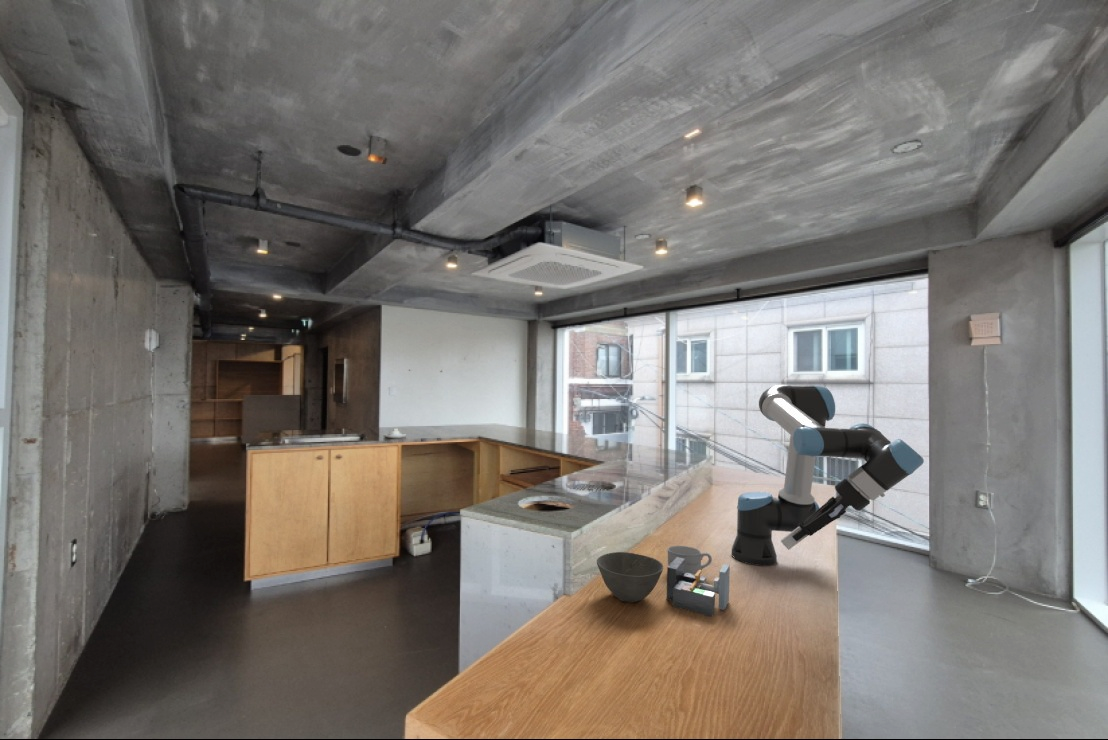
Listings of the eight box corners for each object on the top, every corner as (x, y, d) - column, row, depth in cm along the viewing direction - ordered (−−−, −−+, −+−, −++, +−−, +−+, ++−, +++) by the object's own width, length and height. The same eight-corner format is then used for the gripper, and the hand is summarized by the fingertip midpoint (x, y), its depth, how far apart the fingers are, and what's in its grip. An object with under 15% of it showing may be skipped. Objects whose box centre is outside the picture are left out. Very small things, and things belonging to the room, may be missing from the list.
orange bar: (698, 577, 137) (698, 569, 137) (701, 578, 137) (701, 570, 137) (689, 590, 127) (689, 582, 128) (692, 591, 127) (692, 582, 127)
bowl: (674, 599, 134) (675, 563, 135) (638, 621, 120) (639, 581, 121) (620, 579, 147) (621, 546, 147) (582, 596, 133) (583, 561, 134)
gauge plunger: (700, 593, 137) (701, 558, 138) (728, 600, 133) (729, 564, 134) (694, 602, 131) (695, 566, 132) (724, 609, 127) (725, 572, 128)
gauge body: (676, 587, 142) (676, 557, 143) (721, 598, 136) (722, 566, 136) (662, 603, 131) (663, 571, 131) (711, 616, 124) (712, 582, 124)
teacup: (664, 576, 150) (665, 551, 150) (669, 565, 160) (670, 541, 160) (710, 585, 145) (710, 559, 145) (712, 573, 155) (712, 548, 155)
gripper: (874, 507, 109) (794, 564, 117) (869, 496, 121) (797, 549, 129) (847, 482, 112) (771, 539, 120) (845, 473, 124) (776, 526, 131)
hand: (784, 544), depth 124 cm, fingers closed
